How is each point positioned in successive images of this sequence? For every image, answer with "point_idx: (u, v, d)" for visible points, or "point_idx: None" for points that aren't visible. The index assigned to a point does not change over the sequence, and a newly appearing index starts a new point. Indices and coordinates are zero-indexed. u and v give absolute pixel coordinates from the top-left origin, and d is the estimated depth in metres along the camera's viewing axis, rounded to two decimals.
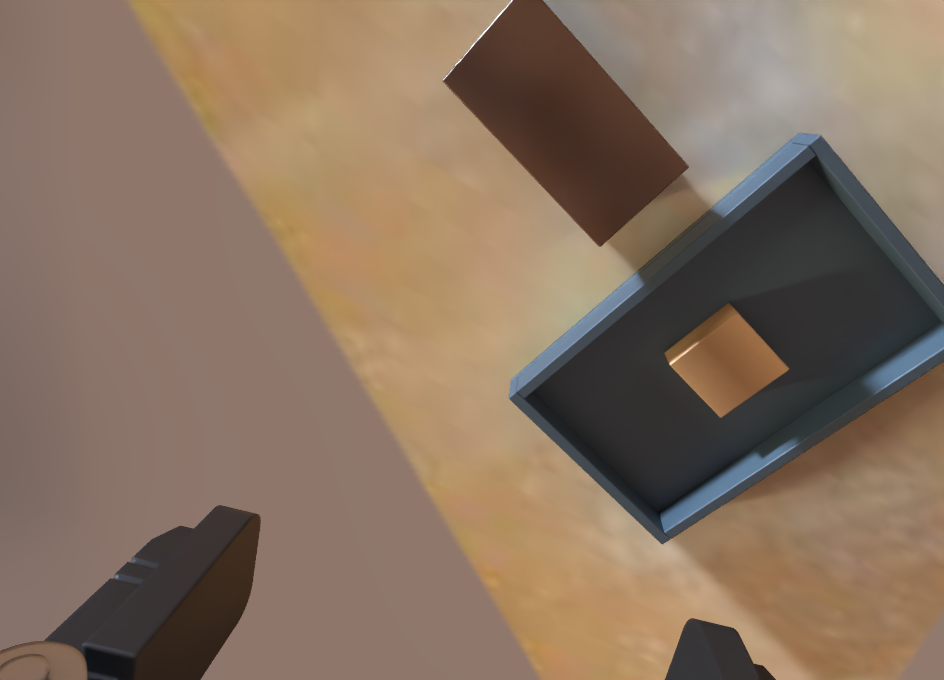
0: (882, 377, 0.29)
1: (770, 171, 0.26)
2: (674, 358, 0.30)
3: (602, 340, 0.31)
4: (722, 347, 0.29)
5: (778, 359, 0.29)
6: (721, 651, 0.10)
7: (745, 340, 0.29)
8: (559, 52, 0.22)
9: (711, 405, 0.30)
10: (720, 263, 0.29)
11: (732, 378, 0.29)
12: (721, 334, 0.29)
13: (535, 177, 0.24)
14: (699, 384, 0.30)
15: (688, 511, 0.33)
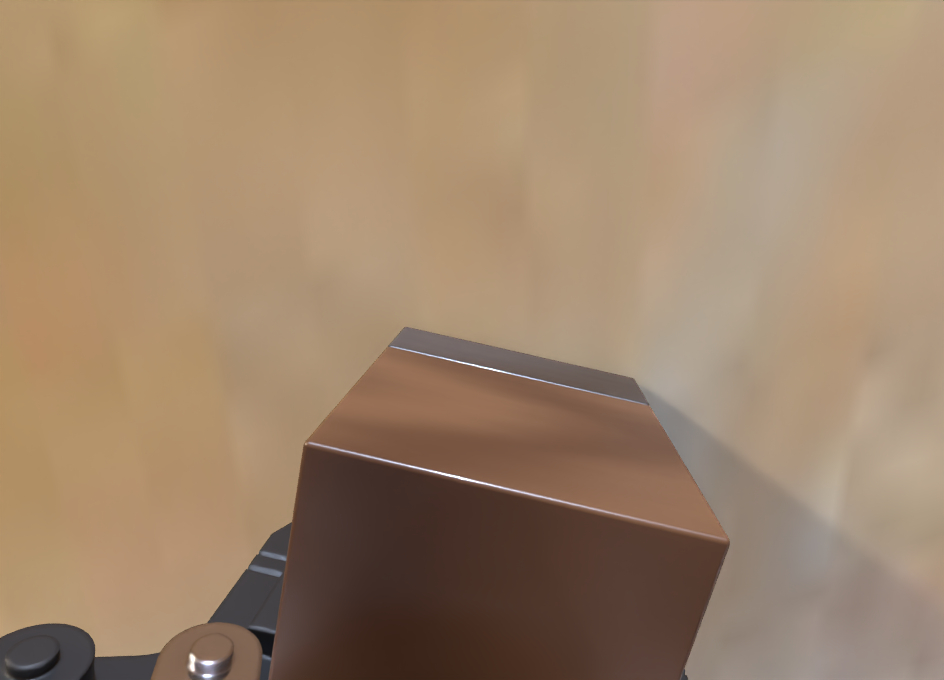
0: None
1: None
2: None
3: None
4: None
5: None
6: None
7: None
8: None
9: None
10: None
11: None
12: None
13: None
14: None
15: None
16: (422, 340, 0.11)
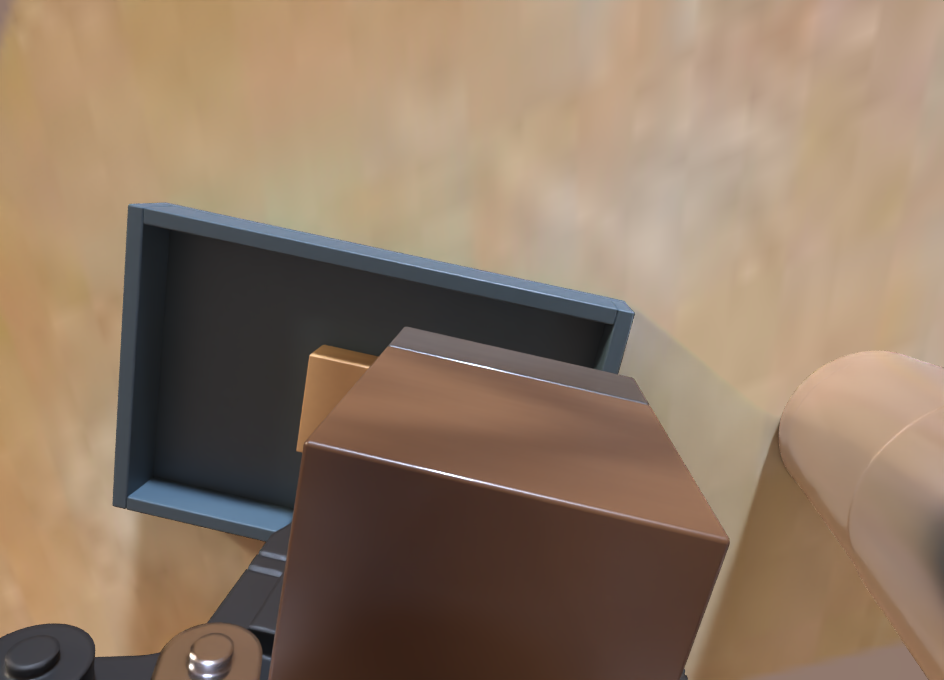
0: None
1: (571, 296, 0.21)
2: (320, 354, 0.22)
3: (286, 269, 0.23)
4: None
5: None
6: None
7: None
8: None
9: (301, 431, 0.23)
10: (453, 326, 0.23)
11: None
12: None
13: None
14: (313, 401, 0.23)
15: (172, 502, 0.24)
16: (422, 340, 0.11)
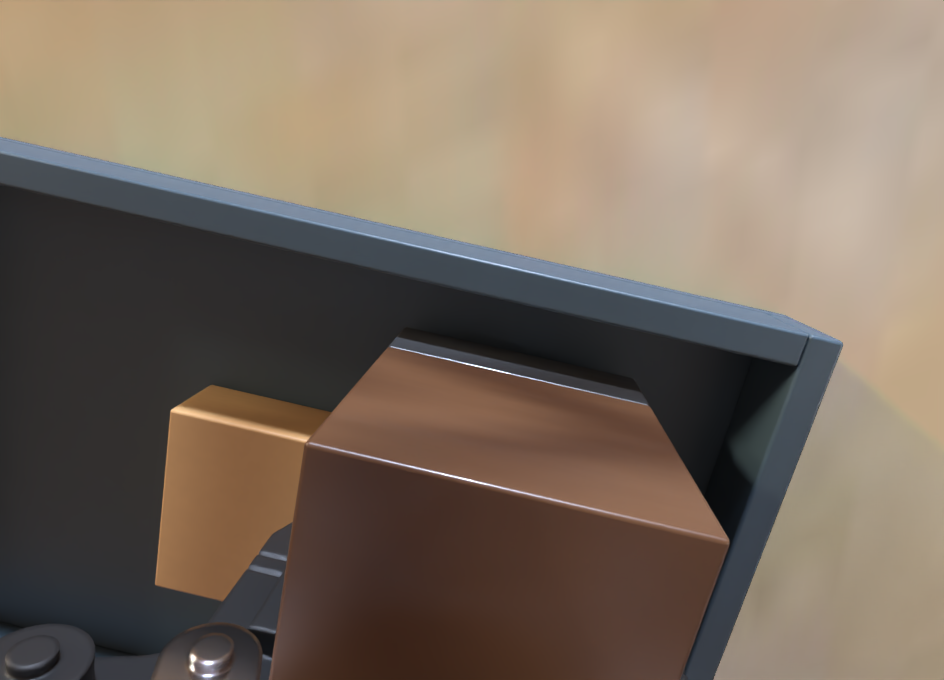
0: None
1: (704, 306, 0.11)
2: (193, 408, 0.12)
3: (152, 247, 0.12)
4: (284, 482, 0.12)
5: None
6: None
7: None
8: None
9: (162, 550, 0.12)
10: None
11: (242, 547, 0.12)
12: None
13: None
14: (181, 497, 0.12)
15: None
16: (422, 340, 0.11)
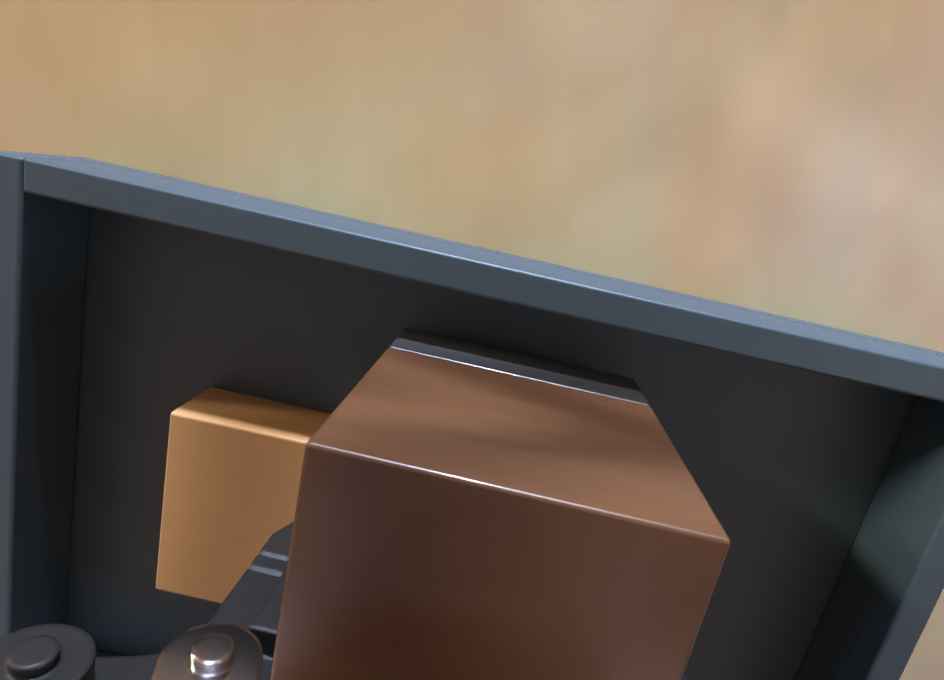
0: None
1: (889, 350, 0.11)
2: (193, 411, 0.12)
3: (311, 285, 0.12)
4: (286, 484, 0.12)
5: None
6: None
7: None
8: None
9: (162, 553, 0.12)
10: None
11: (243, 549, 0.12)
12: None
13: None
14: (181, 499, 0.12)
15: None
16: (423, 341, 0.11)
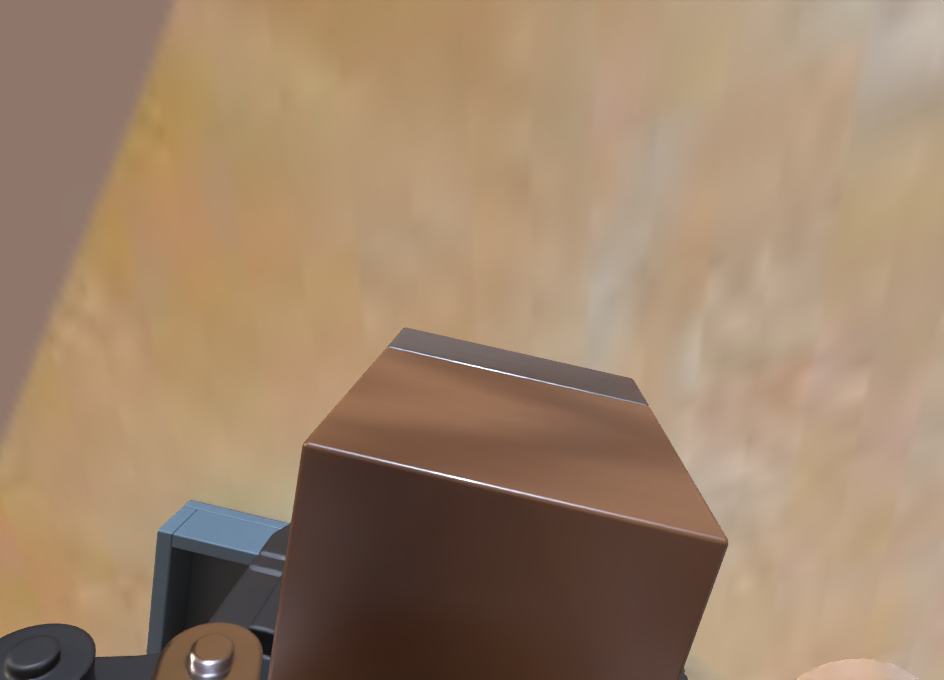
0: None
1: None
2: None
3: None
4: None
5: None
6: None
7: None
8: None
9: None
10: None
11: None
12: None
13: None
14: None
15: None
16: (422, 341, 0.11)
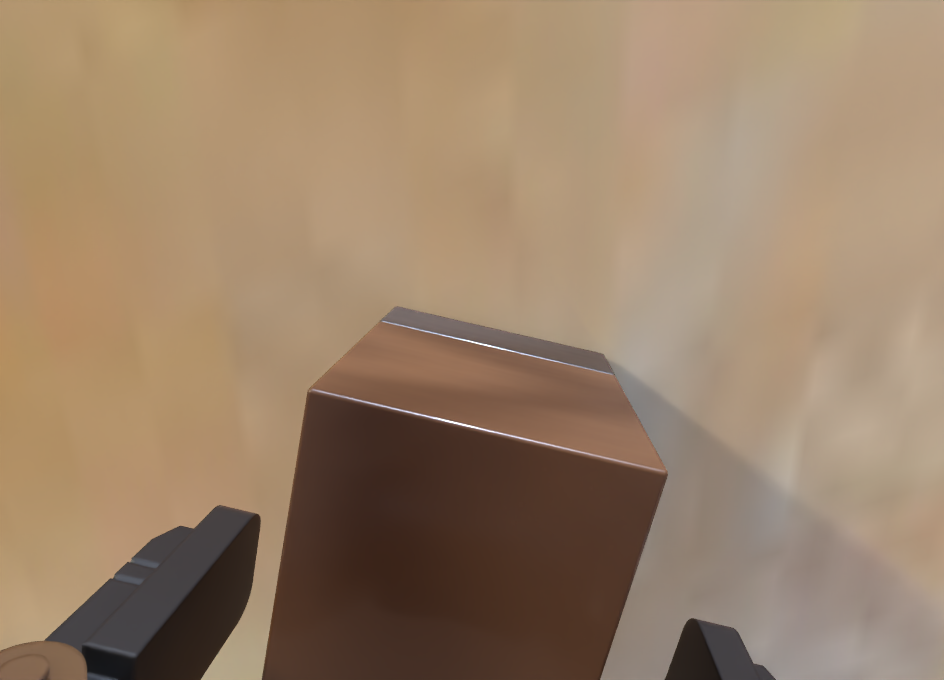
0: None
1: None
2: None
3: None
4: None
5: None
6: (721, 651, 0.10)
7: None
8: (558, 631, 0.08)
9: None
10: None
11: None
12: None
13: None
14: None
15: None
16: (411, 317, 0.12)
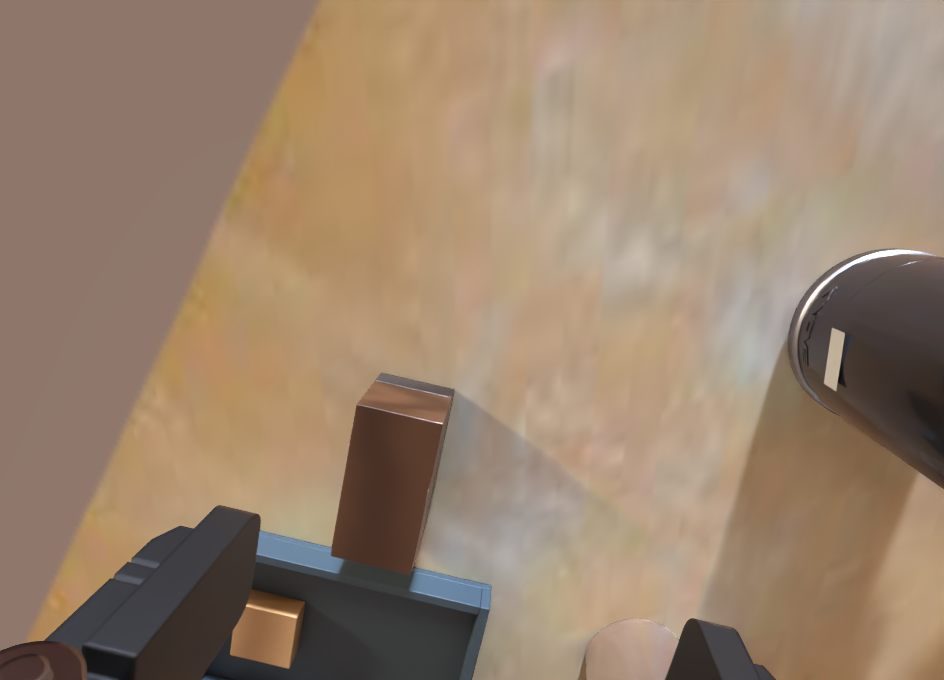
0: None
1: (455, 594, 0.37)
2: None
3: None
4: (270, 624, 0.38)
5: (289, 659, 0.39)
6: (721, 651, 0.10)
7: (285, 633, 0.38)
8: (419, 465, 0.31)
9: (232, 644, 0.39)
10: (390, 598, 0.39)
11: (257, 643, 0.38)
12: (277, 618, 0.38)
13: (342, 493, 0.32)
14: (238, 628, 0.38)
15: None
16: (386, 378, 0.35)
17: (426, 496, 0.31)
